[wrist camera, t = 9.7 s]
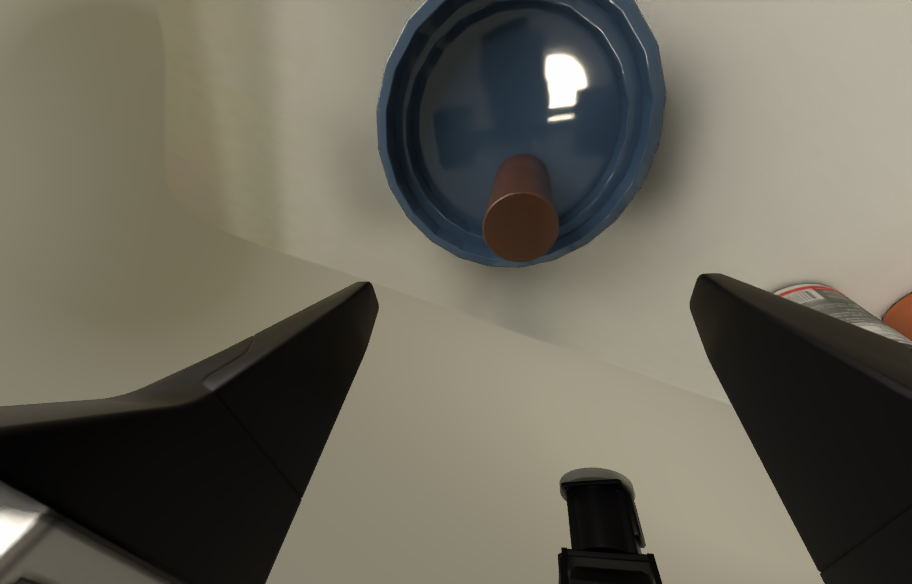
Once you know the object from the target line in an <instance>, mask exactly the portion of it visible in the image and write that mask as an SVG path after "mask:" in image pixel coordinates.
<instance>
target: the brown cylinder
mask: <svg viewBox="0 0 912 584" xmlns="http://www.w3.org/2000/svg"><path fill="white" fill-rule="evenodd" d="M482 230H483V236H484V239H485V242H486V244H487V245H488V247H489V248H490V250H491V251H492V252H493V253H495V254H496V255H497V256H499V257H500V258H502V259H505V260H507V261H511V262H528V261H531V260H534V259H537V258H539V257H540V256H542V255H543V254H545V253H546V252H547V251H548V250H549V249H550V248H551V247H552V246H553V244H554V242H555V241H556V238H557V236H558V232H559V219H558V215H557V211H556V206H555V202H554V198H553V194H552V189H551V185H550V181H549V177H548V173H547V169H546V167H545V165H544V164H543V163H542V161H541V160H539V159H538V158H537V157H535V156H533V155H530V154H517V155H514V156H511V157H509V158H508V159H506V160H505V161H504V162H503V163H502V164H501V165H500V167H499V168H498V170H497V173H496V176H495V180H494V183H493V187H492V191H491V194H490V198H489V202H488V205H487V209H486V213H485V216H484V220H483V229H482Z"/></svg>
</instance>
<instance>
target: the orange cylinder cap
mask: <svg viewBox="0 0 912 584" xmlns="http://www.w3.org/2000/svg"><path fill="white" fill-rule="evenodd" d="M882 322H884V323H885V324H886V325H888V326H889V327H891V328H892V329H894V330H895V331H897V332H899V333H900V334H902V335H903V336H905V337H906V338H908V339H909V340H911V341H912V293H911V294H910V295H908V296H906V297H905V298H903V299H901V300H900V301H899V302H897V303H896V304H895V305H894V306H893V307H891V309H890V310H889V311H888V312H887V313H886V315H885V316H884V318H883V320H882Z"/></svg>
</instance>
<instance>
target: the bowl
mask: <svg viewBox="0 0 912 584" xmlns="http://www.w3.org/2000/svg"><path fill="white" fill-rule="evenodd" d="M665 101H666V89H665V83H664V77H663V71H662V65H661V59H660V53H659V47H658V44H657V41H656V39H655V37H654V36H653V34H652V32H651V30H650V28H649V26H648V25H647V23H646V21H645V19H644V17H643V15H642V14H641V12H640V10H639V8H638V6H637V4H636V3H635V1H634V0H426V1H425V2H424V3H423V4H422V5H421V6H420V7H419V8H418V9H417V10H416V11H415V13H414V14H413V15H412V16H411V17H410V18H409V19H408V21H407V22H406V24H405V26H404V28H403V30H402V32H401V34H400V36H399V38H398V40H397V42H396V44H395V46H394V48H393V50H392V52H391V54H390V56H389V58H388V60H387V62H386V65H385V69H384V74H383V79H382V84H381V89H380V94H379V99H378V104H377V110H376V111H377V132H378V150H379V154H380V157H381V160H382V164H383V167H384V170H385V174H386V177H387V180H388V184H389V187H390V189H391V190H392V192H393V194H394V196H395V197H396V199H397V201H398V202H399V204H400V206H401V207H402V209H403V211H404V212H405V214H406V216H407V217H408V218H409V219H410V220H411V221H412V222H413V223H414V224H415V225H416V226H417V227H418V228H419V229H420V230H421V231H422V232H423V233H424V234H425V235H426V236H427V237H428V238H429V239H430V240H431V241H432V242H434V243H435V244H437V245H439V246H440V247H442V248H444V249H445V250H447V251H449V252H450V253H452V254H454V255H455V256H457V257H459V258H463V259H466V260H469V261H473V262H476V263H479V264H483V265H486V266H498V267H525V266H530V265H534V264H539V263H544V262H549V261H553V260H556V259H558V258H560V257H562V256H564V255H566V254H568V253H570V252H572V251H574V250H576V249H579V248H581V247H583V246H585V245H586V244H588V243H589V242H590V241H591V240H593V239H594V238H595V237H596V236H598V235H599V234H600V233H601V232H602V231H604V230H605V229H606V228H607V227H609V226H610V225H611V224H612V223H613V222H615V221H616V220H617V219H618V217H619V216H620V215H621V213H622V212H623V211H624V209H625V208H626V207H627V205H628V204H629V203H630V201H631V200H632V199H633V197H634V196H635V195H636V193H637V192H638V191H639V189H640V188H641V186H642V185H643V182H644V180H645V178H646V175H647V173H648V170H649V168H650V166H651V163H652V161H653V159H654V156H655V154H656V151H657V149H658V147H659V143H660V138H661V131H662V123H663V116H664V108H665ZM517 154H530V155H533V156H535V157H537V158H538V159H539V160H541V161H542V163H543V164H544V165H545V167H546V169H547V173H548V177H549V181H550V185H551V189H552V194H553V198H554V202H555V206H556V211H557V215H558V219H559V232H558V236H557V238H556V241H555V242H554V244H553V246H552V247H551V248H550V249H549V250H548V251H547V252H546V253H545V254H543V255H542V256H540V257H539V258H537V259H534V260H531V261H528V262H511V261H507V260H505V259H502V258H500V257H499V256H497V255H496V254H495V253H493V252H492V251H491V250H490V248H489V247H488V245H487V244H486V242H485V239H484V236H483V230H482V229H483V220H484V216H485V213H486V209H487V205H488V202H489V198H490V194H491V191H492V187H493V183H494V180H495V176H496V173H497V170H498V168H499V167H500V165H501V164H502V163H503V162H504V161H505V160H506V159H508V158H509V157H511V156H514V155H517Z"/></svg>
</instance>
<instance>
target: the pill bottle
mask: <svg viewBox="0 0 912 584" xmlns="http://www.w3.org/2000/svg"><path fill="white" fill-rule="evenodd" d="M773 294H775V295H778V296H781V297H783V298H786V299H788V300H791V301H794V302H796V303H799V304H801V305H804V306H807V307H809V308H812V309H814V310H817V311H820V312H822V313H825V314H827V315H830V316H833V317H835V318H838V319H840V320H843V321H846V322H848V323H851V324H853V325H856V326H859V327H861V328H864V329H867V330H869V331H872V332H874V333H877V334H880V335H882V336H885V337H887V338H890V339H893V340H895V341H898V342H900V343H903V344H906V345H908V346H909V348H912V341H911V340H909V339H908V338H906V337H905V336H903V335H902V334H900V333H899V332H897V331H895V330H894V329H892V328H891V327H889V326H888V325H886V324H885V323H884V322H882V321H881V320H879V319H878V318H876V317H875V316H873V315H872V314H870V313H869V312H868V311H866V310H865V309H863V308H862V307H860V306H859V305H858V304H856V303H855V302H853V301H852V300H850V299H849V298H848V297H846V296H845V295H843V294H842V293H840V292H839V291H837V290H835V289H833V288H831V287H828V286H824V285H819V284H801V285H795V286H791V287H787V288H784V289H782V290H779V291H777V292H775V293H773Z"/></svg>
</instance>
